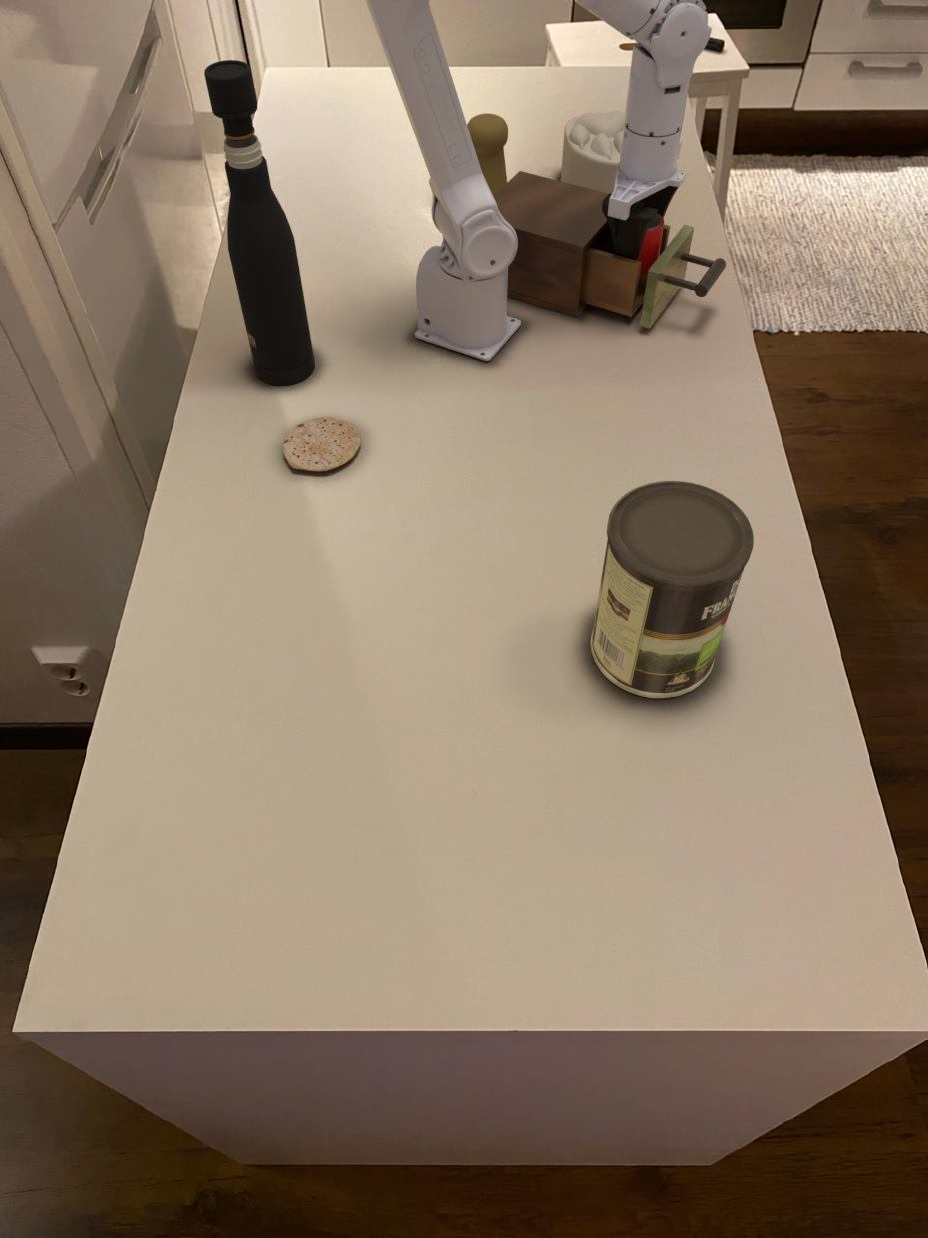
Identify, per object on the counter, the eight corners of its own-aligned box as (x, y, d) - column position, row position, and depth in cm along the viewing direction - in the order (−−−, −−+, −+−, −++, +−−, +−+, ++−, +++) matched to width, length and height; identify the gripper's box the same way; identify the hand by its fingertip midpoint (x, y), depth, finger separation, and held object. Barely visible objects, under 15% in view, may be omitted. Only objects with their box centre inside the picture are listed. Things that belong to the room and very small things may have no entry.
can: (605, 267, 105) (610, 223, 101) (623, 246, 107) (628, 202, 103) (647, 279, 103) (654, 235, 99) (664, 257, 106) (671, 213, 102)
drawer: (724, 293, 108) (737, 237, 103) (691, 341, 103) (703, 285, 97) (585, 254, 114) (591, 199, 108) (547, 298, 108) (551, 242, 103)
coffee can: (734, 631, 79) (775, 511, 68) (684, 720, 74) (720, 606, 63) (623, 582, 83) (645, 461, 72) (567, 664, 77) (582, 547, 66)
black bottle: (324, 355, 103) (278, 58, 80) (299, 391, 100) (243, 89, 76) (271, 344, 105) (211, 48, 81) (245, 379, 101) (173, 79, 78)
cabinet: (618, 267, 113) (627, 198, 107) (577, 317, 107) (583, 247, 100) (517, 238, 118) (519, 170, 111) (472, 285, 111) (471, 215, 105)
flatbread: (311, 413, 97) (309, 406, 96) (375, 434, 95) (374, 426, 94) (267, 462, 93) (265, 454, 92) (333, 485, 91) (331, 477, 90)
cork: (505, 220, 120) (507, 131, 112) (459, 215, 121) (457, 127, 113) (513, 196, 124) (516, 108, 116) (468, 192, 125) (467, 104, 116)
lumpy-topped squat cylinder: (631, 166, 129) (639, 99, 122) (653, 216, 121) (664, 147, 114) (555, 171, 128) (559, 104, 121) (573, 221, 120) (579, 153, 113)
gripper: (663, 164, 88) (643, 293, 99) (717, 102, 96) (693, 228, 107) (594, 147, 91) (582, 276, 101) (652, 88, 98) (635, 213, 109)
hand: (635, 250), depth 104 cm, fingers closed on can, 5 cm apart
